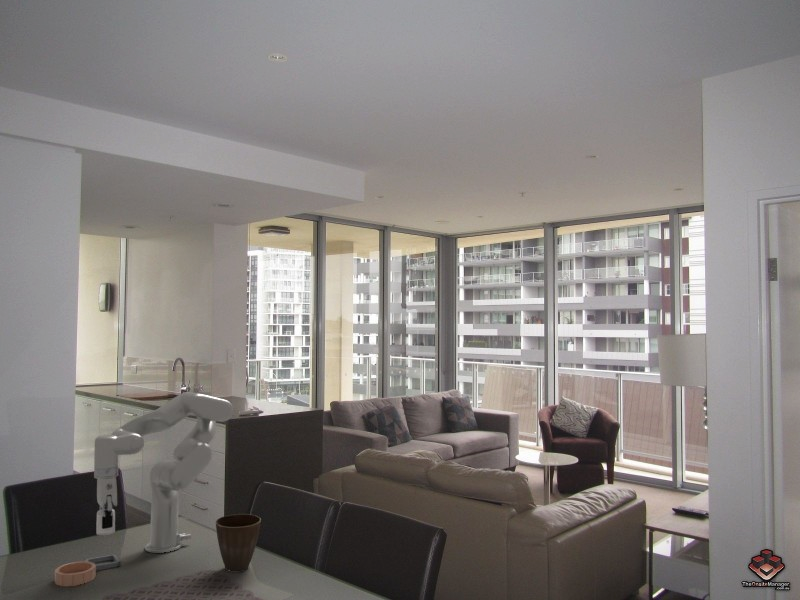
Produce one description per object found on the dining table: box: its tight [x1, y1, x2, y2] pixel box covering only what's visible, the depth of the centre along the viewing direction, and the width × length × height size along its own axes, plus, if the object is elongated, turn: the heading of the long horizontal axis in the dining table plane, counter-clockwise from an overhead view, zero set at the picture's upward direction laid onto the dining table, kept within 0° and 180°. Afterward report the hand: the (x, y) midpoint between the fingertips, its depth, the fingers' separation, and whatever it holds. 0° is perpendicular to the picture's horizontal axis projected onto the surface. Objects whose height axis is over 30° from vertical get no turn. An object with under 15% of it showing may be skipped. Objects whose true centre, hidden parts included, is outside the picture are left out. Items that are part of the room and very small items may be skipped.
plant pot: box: [215, 513, 262, 572], centre depth 215 cm, size 15×15×16 cm
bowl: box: [54, 560, 97, 587], centre depth 203 cm, size 11×11×4 cm
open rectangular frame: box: [83, 553, 121, 572], centre depth 215 cm, size 10×9×2 cm
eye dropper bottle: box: [95, 505, 116, 536], centre depth 216 cm, size 4×6×12 cm
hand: (105, 525), depth 216 cm, fingers closed on eye dropper bottle, 4 cm apart
